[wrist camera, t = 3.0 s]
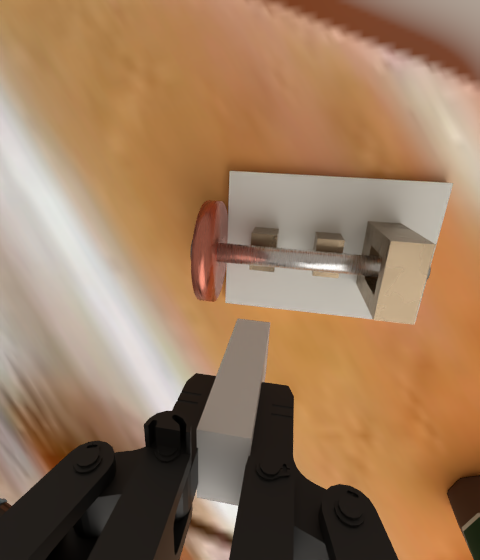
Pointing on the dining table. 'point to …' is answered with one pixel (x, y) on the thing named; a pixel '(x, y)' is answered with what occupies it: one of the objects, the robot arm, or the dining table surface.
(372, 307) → the eye bracket
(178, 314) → the dining table surface
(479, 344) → the dining table surface
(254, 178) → the base board
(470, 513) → the beer bottle
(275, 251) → the disc-ended rod
